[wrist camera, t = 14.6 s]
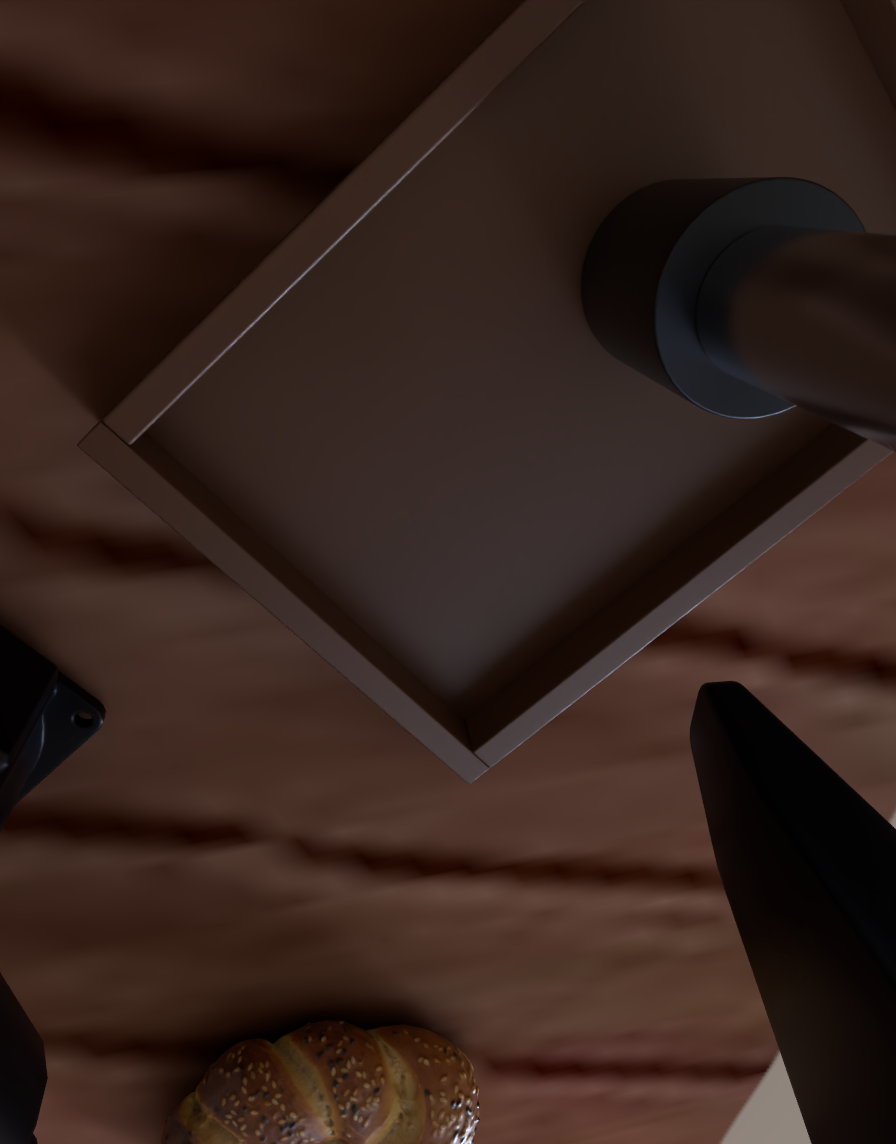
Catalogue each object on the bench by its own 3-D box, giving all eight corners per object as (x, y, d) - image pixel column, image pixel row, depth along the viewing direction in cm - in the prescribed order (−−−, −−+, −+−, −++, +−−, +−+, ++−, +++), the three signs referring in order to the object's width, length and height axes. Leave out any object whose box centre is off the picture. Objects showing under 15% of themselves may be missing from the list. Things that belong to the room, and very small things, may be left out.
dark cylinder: (647, 405, 22) (1027, 663, 10) (543, 270, 20) (855, 390, 8) (788, 287, 21) (1377, 415, 9) (692, 135, 19) (1270, 55, 7)
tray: (459, 743, 26) (469, 785, 24) (97, 423, 20) (75, 445, 19) (1017, 297, 22) (1078, 306, 20) (756, -232, 17) (808, -282, 15)
